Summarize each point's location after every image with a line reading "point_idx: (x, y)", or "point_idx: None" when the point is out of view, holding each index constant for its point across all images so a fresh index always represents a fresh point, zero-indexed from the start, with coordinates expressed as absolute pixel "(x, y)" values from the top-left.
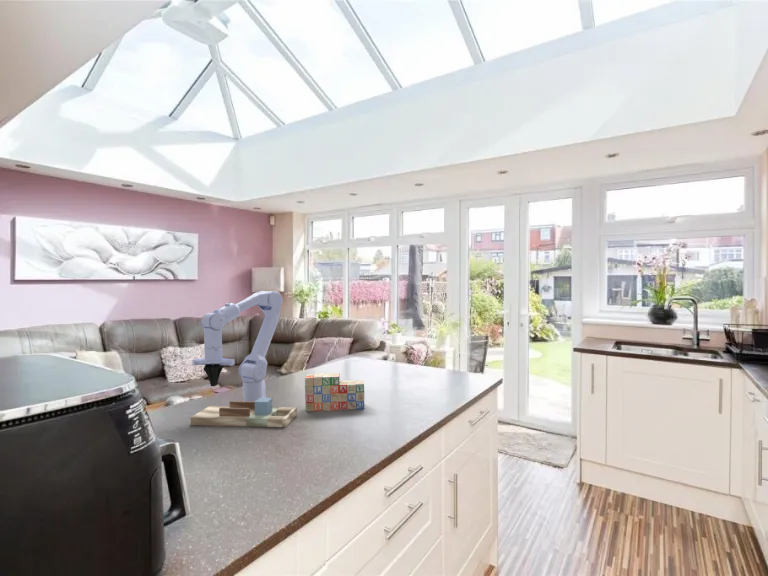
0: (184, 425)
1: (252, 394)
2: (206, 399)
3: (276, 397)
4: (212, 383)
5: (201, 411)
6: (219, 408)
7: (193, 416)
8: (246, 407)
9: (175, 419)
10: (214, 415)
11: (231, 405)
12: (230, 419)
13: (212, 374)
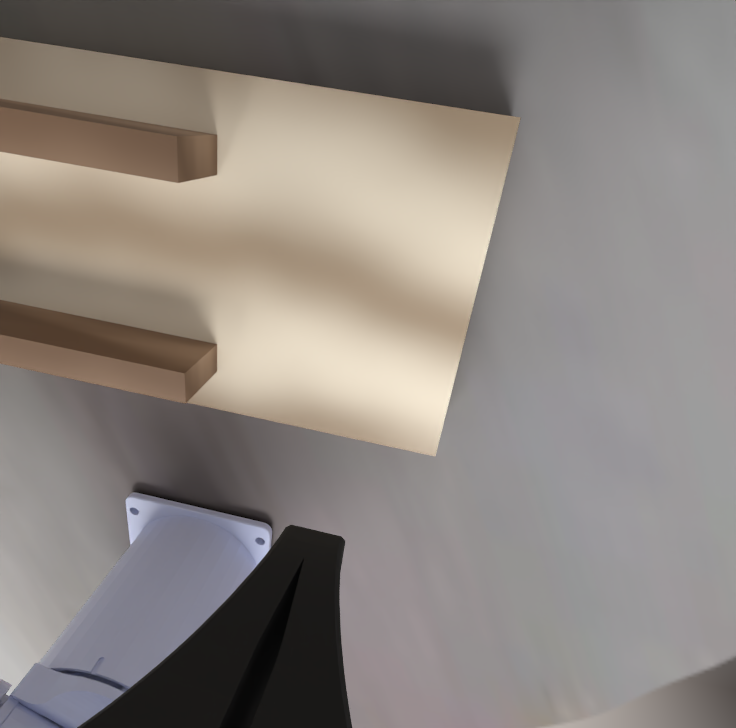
0: (573, 111)
1: (130, 573)
2: (554, 692)
3: None
4: (299, 558)
5: (459, 313)
6: (176, 143)
7: (494, 150)
8: (55, 318)
9: (708, 305)
10: (276, 162)
11: (184, 355)
12: (80, 49)
13: (208, 703)
